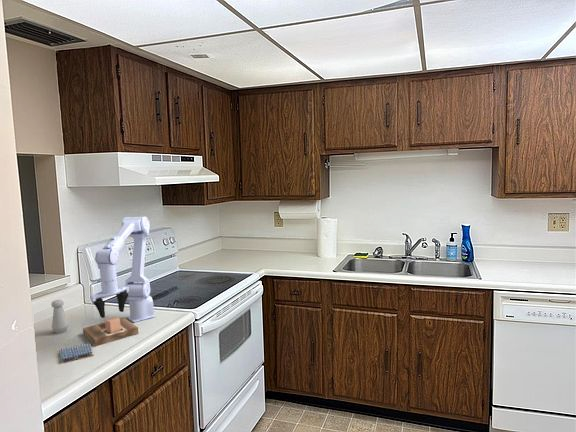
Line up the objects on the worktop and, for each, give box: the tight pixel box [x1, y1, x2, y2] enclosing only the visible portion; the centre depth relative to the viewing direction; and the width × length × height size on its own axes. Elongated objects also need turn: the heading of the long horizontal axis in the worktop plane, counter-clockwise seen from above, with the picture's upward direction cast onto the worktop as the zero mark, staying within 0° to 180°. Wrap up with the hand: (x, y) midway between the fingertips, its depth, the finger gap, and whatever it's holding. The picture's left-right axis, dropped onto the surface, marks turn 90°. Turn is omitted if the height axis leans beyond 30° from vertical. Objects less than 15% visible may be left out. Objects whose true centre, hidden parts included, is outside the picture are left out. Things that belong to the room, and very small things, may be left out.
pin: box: [104, 316, 121, 334], centre depth 164 cm, size 4×4×7 cm
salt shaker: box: [50, 299, 69, 334], centre depth 171 cm, size 6×6×13 cm
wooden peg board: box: [82, 317, 140, 347], centre depth 167 cm, size 16×16×3 cm
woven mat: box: [58, 343, 95, 364], centre depth 150 cm, size 10×11×2 cm
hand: (112, 314), depth 163 cm, fingers open, 7 cm apart
